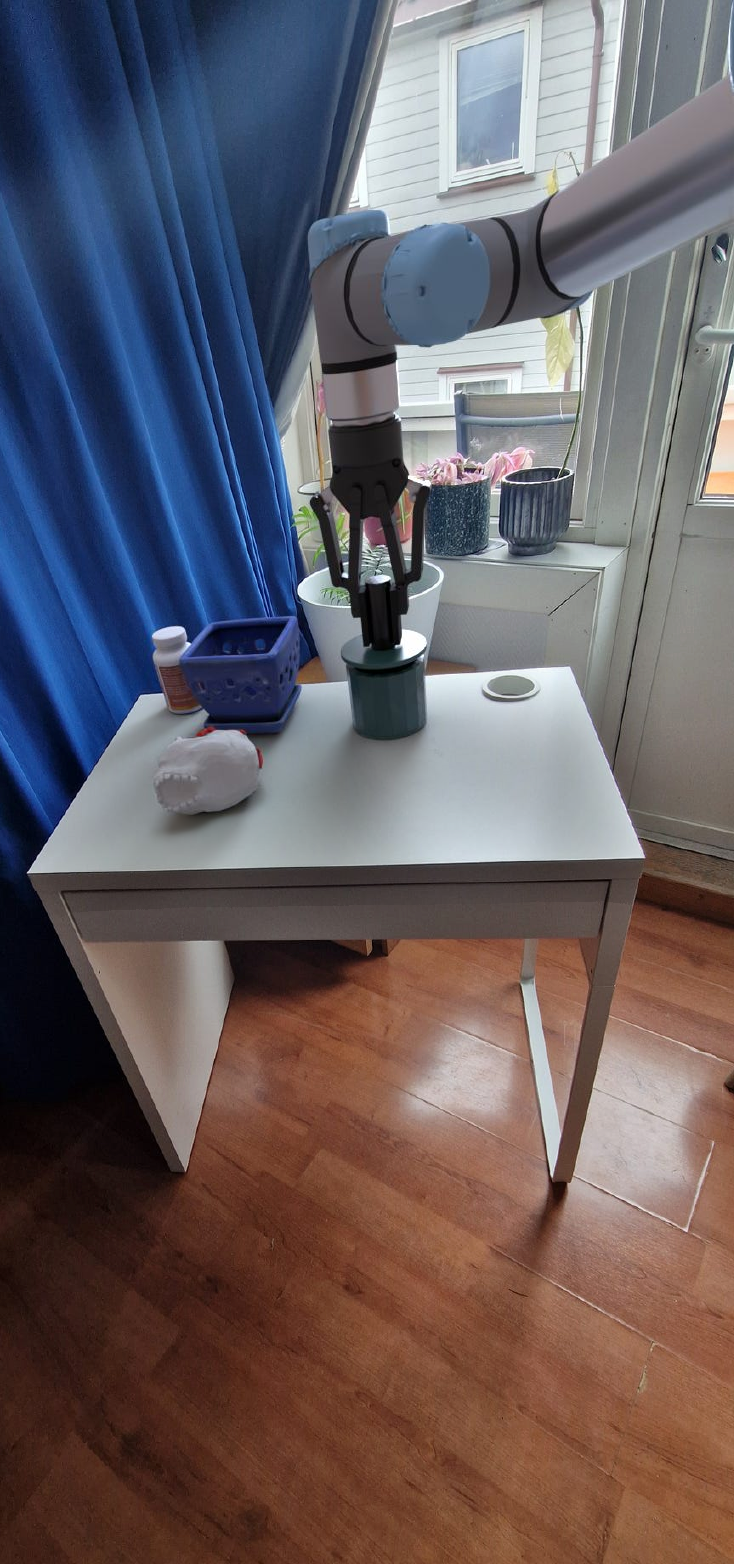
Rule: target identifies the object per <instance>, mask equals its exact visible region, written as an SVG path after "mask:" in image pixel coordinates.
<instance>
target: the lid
mask: <svg viewBox="0 0 734 1564" xmlns="http://www.w3.org/2000/svg"><path fill="white" fill-rule="evenodd" d="M364 585H365V589H366V599H367V609H368V620H369V630H370V640H371V644H370V647H363V638H362V634H359V635H357V636H354V637H353V638H351V639H349V640H348V641H346V642H345V643H344V644H343V645H342V646H341V649H340V658H341V660H342V661H343V662H344V664H345V665H346V664H348V665H350V666H353V667H357V668H362V669H385V668H392V667H397V666H401V665H404V664H407V663H410V662H412V661H414V660H416V659H418V658H419V657H421V656H422V655H424V654H425V653H426V651H427V649H428V642H427V639H426V637H425V636H424V635H423V634H421V633H419V632H416V631H414V630H409V629H402V639H401V643H400V645H394V643H393V630H392V617H391V604H390V588H391V585H392V580H391V576H389V575H385V574H378V575H372V576H369V577H367V578H365V580H364Z"/></svg>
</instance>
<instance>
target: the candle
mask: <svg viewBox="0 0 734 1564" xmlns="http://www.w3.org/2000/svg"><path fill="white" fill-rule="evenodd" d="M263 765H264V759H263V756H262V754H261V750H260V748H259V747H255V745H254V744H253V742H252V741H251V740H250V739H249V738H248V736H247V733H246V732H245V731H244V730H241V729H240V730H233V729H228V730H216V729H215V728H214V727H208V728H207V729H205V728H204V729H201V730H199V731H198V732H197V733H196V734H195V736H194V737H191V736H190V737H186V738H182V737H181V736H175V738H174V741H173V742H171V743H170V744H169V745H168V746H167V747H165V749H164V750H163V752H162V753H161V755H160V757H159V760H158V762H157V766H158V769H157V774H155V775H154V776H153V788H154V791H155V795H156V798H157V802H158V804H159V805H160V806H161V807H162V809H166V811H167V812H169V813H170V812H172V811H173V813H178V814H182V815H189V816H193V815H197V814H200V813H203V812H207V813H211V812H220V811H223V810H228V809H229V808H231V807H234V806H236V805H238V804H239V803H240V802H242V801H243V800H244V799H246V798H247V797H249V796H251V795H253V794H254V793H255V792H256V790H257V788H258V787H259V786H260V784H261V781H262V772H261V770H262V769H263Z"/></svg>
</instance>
